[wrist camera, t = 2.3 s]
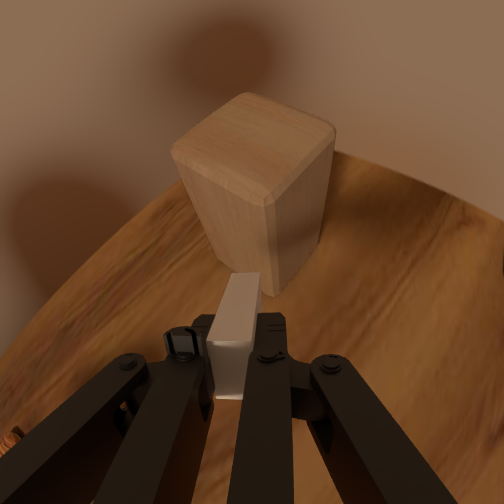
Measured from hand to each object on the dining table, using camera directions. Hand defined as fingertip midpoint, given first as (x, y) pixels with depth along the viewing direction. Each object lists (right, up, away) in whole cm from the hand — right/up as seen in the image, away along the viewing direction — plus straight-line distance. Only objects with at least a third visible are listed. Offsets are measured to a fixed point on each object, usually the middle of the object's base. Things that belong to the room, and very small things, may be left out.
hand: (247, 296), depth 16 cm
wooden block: (+2, +2, +23) cm, 23 cm away
